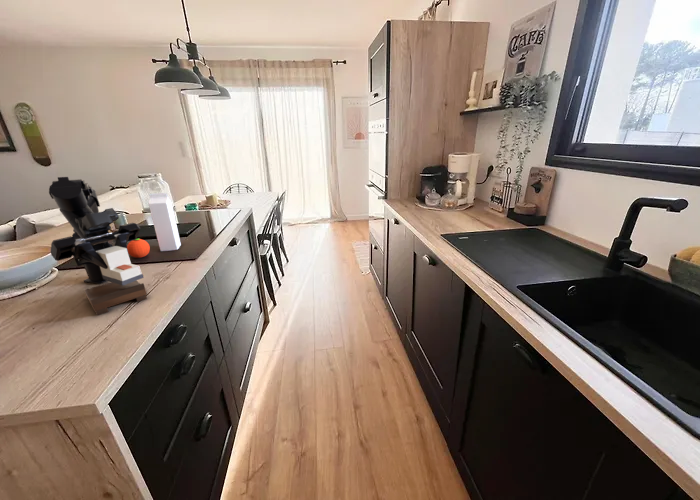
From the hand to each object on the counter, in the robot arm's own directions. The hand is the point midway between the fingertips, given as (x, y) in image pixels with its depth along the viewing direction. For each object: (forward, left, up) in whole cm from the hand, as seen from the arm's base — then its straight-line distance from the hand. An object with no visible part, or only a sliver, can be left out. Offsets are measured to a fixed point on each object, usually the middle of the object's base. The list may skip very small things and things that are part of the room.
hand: (118, 264), depth 76 cm
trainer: (0, 0, -4) cm, 4 cm away
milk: (-18, +35, -10) cm, 41 cm away
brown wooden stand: (-1, -2, -9) cm, 10 cm away
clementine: (-22, +25, -10) cm, 35 cm away
